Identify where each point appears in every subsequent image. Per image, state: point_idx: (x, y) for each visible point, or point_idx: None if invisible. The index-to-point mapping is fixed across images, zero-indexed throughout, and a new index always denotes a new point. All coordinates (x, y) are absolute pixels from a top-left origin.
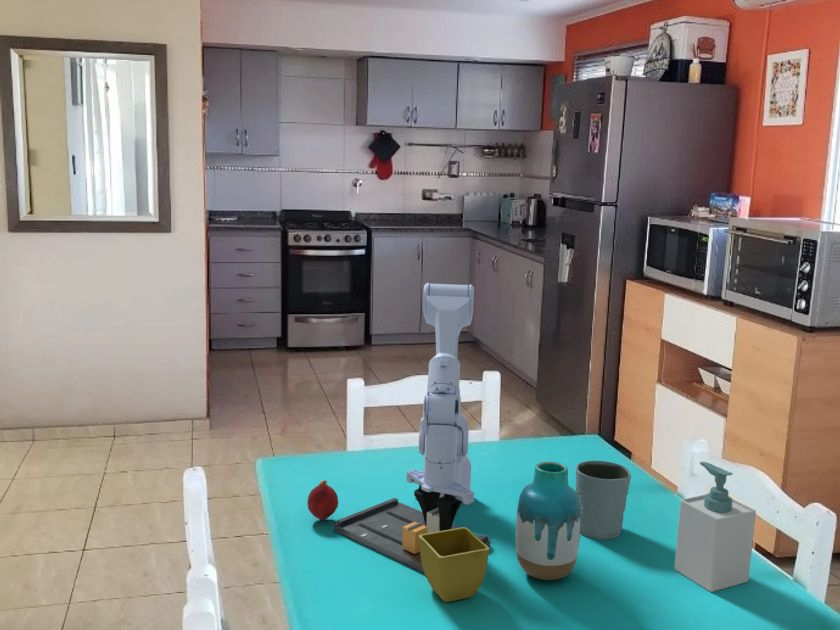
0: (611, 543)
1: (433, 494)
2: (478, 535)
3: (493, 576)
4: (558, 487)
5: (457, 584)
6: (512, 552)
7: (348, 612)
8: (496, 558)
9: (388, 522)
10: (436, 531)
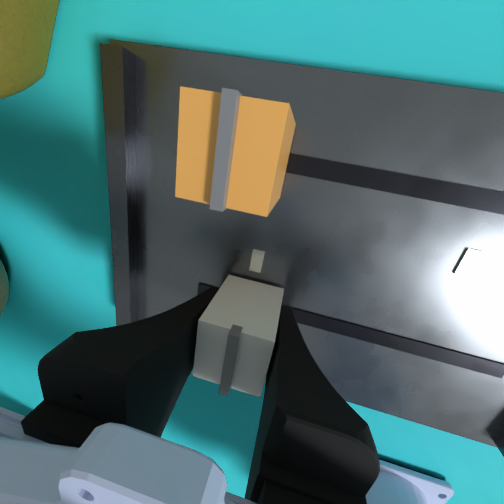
0: (13, 410)
1: (255, 459)
2: None
3: (28, 185)
4: None
5: None
6: (85, 317)
7: None
8: (87, 275)
9: (466, 302)
10: (233, 287)
